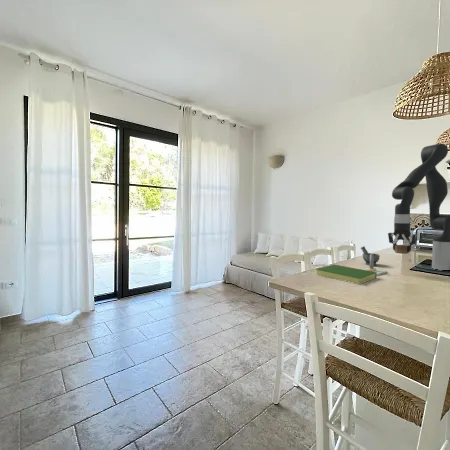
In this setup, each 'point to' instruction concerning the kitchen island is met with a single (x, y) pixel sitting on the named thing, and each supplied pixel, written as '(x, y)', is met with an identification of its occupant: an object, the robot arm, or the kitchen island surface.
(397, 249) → the ring
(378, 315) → the kitchen island surface
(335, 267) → the hardcover book
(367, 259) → the mortar and pestle
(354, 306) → the kitchen island surface
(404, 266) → the kitchen island surface
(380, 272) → the post
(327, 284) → the kitchen island surface
